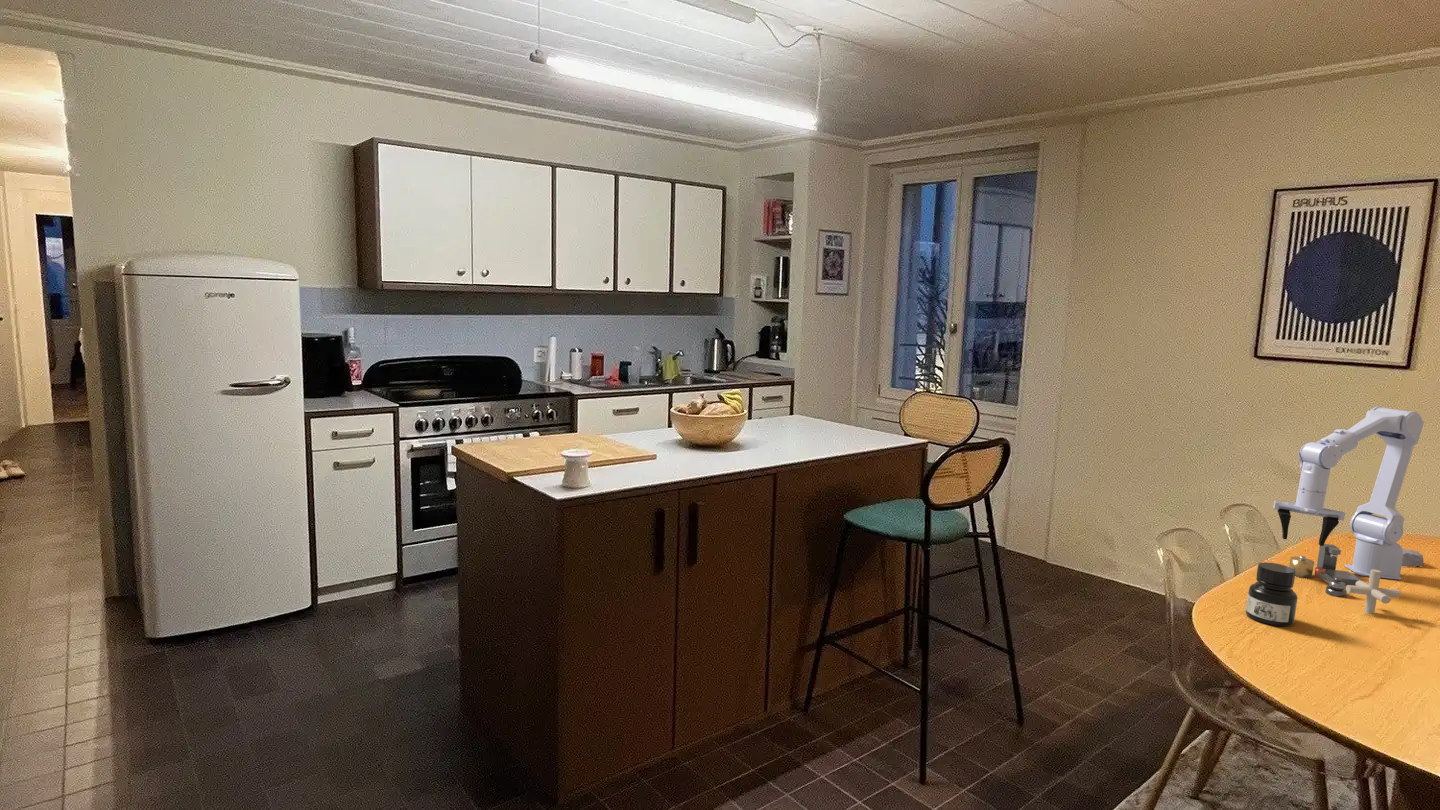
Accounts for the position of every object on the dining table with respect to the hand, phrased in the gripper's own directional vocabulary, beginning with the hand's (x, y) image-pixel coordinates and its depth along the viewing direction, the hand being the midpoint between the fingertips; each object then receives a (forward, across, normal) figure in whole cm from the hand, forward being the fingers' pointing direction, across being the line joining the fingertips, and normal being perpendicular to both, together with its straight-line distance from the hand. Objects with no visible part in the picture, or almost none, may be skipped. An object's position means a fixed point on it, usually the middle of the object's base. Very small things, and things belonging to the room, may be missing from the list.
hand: (1302, 541), depth 202 cm
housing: (+10, +1, +4) cm, 10 cm away
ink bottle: (+12, -9, -37) cm, 40 cm away
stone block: (+8, +26, +36) cm, 45 cm away
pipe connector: (+10, +12, -18) cm, 24 cm away
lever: (+8, +6, -4) cm, 11 cm away
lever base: (+10, +7, -8) cm, 15 cm away
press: (+9, +9, +8) cm, 15 cm away
